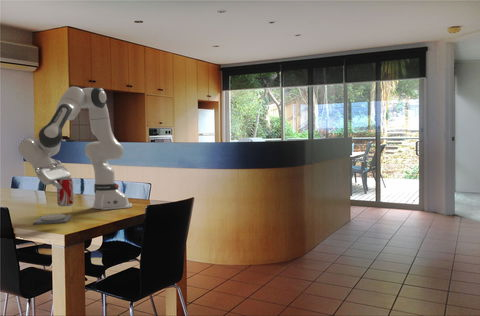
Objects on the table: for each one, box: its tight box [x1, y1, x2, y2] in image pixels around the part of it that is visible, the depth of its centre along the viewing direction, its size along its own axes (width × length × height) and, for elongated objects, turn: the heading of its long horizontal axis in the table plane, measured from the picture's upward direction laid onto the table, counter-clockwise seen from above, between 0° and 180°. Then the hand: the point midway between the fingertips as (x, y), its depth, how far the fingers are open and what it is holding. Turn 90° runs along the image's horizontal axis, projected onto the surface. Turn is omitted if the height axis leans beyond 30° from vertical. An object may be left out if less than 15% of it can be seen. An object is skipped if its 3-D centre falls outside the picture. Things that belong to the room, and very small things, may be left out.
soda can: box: [56, 177, 74, 207], centre depth 201 cm, size 7×7×13 cm
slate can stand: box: [33, 213, 72, 225], centre depth 212 cm, size 15×15×2 cm
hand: (66, 187), depth 200 cm, fingers closed on soda can, 6 cm apart
